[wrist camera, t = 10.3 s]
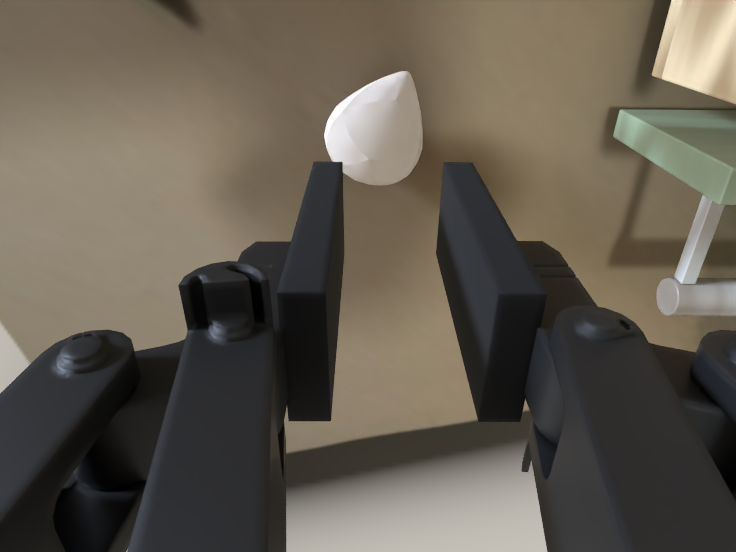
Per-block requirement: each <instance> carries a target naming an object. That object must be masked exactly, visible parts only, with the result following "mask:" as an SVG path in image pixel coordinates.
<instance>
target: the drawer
mask: <svg viewBox="0 0 736 552" xmlns="http://www.w3.org/2000/svg"><path fill="white" fill-rule="evenodd" d="M652 76H654V77H657V78H659V79H663V80H666V81H668V82H671V83H674V84H677V85H680V86H683V87H686V88H689V89H692V90H695V91H698V92H700V93H703V94H706V95H709V96H712V97H715V98H718V99H721V100H724V101H727V102H729V103H732V104H735V105H736V0H672V1H671V4H670V8H669V12H668V16H667V19H666V23H665V27H664V31H663V34H662V38H661V42H660V46H659V49H658V53H657V57H656V61H655V64H654V68H653V72H652ZM613 137H614V138H616V139H617V140H619V141H620V142H622V143H624V144H625V145H627V146H628V147H630V148H631V149H633V150H634V151H636V152H637V153H639V154H641V155H642V156H644V157H645V158H647V159H648V160H650V161H651V162H653V163H655V164H656V165H658V166H659V167H661V168H662V169H664V170H665V171H667V172H668V173H670V174H672V175H673V176H675V177H676V178H678V179H679V180H681V181H682V182H684V183H686V184H687V185H689V186H690V187H692V188H693V189H695V190H696V191H698V192H699V193H701V194H703V196H702V199H701V202H700V205H699V207H698V210H697V213H696V216H695V219H694V222H693V224H692V227H691V230H690V233H689V236H688V239H687V241H686V244H685V247H684V250H683V253H682V256H681V258H680V261H679V264H678V267H677V270H676V273H675V275H674V277H675V278H665V279H663V280H662V281H661V282H660V284H659V286H658V289H657V295H656V297H657V304H658V307H659V309H660V311H661V312H662V313H663V314H664V315H666V316H736V278H698V275H699V273H700V270H701V267H702V265H703V262H704V259H705V257H706V254H707V252H708V249H709V246H710V244H711V241H712V238H713V236H714V233H715V231H716V228H717V225H718V223H719V220H720V217H721V215H722V212H723V209H724V207H725V205H736V110H624V109H621V110H620V111H619V115H618V119H617V123H616V127H615V131H614V135H613Z"/></svg>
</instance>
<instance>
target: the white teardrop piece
mask: <svg viewBox="0 0 736 552" xmlns="http://www.w3.org/2000/svg"><path fill="white" fill-rule="evenodd" d="M324 138H325V142H326V147H327V151H328V153H329V155H330V157H331V159H332V161H333V162H343V173H345V174H346V175H348V176H349V177H351V178H352V179H354V180H355V181H359V182H362V183H366V184H369V185H388V184H393V183H397V182H398V181H400V180H402V179H403V178H405V177H407V176H408V175H409V174H410V172H411V171H412V170H413V168H414V167H415V166H416V164H417V162H418V160H419V157H420V154H421V151H422V143H423V130H422V119H421V111H420V106H419V101H418V97H417V93H416V89H415V85H414V82H413V79H412V76H411V75H410V73H409V72H408V71H400V72H397V73H394V74H391V75H388V76H386V77H383V78H381V79H378V80H376V81H374V82H372V83H370V84H368V85H366V86H364V87H362V88H361V89H359V90H357V91H356V92H354V93H352V94H351V95H349V96H348V97H347V98H345V99H344V100H343V101H341V102H340V103H339V104H337V105H336V107H335V108H334V110H333V112H332V113H331V115H330V116H329V118H328V122H327V125H326V129H325V133H324Z"/></svg>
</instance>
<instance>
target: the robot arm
mask: <svg viewBox="0 0 736 552" xmlns="http://www.w3.org/2000/svg"><path fill="white" fill-rule="evenodd" d="M436 255H437V259H438V263H439V267H440V271H441V275H442V279H443V283H444V287H445V291H446V295H447V299H448V302H449V306H450V310H451V314H452V318H453V322H454V326H455V330H456V334H457V338H458V342H459V346H460V350H461V354H462V358H463V362H464V366H465V370H466V374H467V378H468V382H469V386H470V390H471V394H472V398H473V402H474V406H475V410H476V414H477V418H478V421H479V422H520V420H521V416H522V411H523V406H524V402H525V398H526V401H527V404H528V406H529V409H530V412H531V414H532V417H533V418H532V422H531V427H530V431H529V436H528V440H527V444H526V449H525V453H524V457H523V462H522V471H523V472H528V470H529V466H530V462H531V460H532V465H533V470H534V476H535V482H536V488H537V493H538V499H539V505H540V511H541V516H542V522H543V528H544V534H545V540H546V545H547V551H548V552H736V331H730V330H719V331H714V332H710V333H708V334H707V335H706V336H704V337H703V338H702V339H701V342H700V344H699V347H698V349H697V352H696V353H695V352H690V351H685V350H680V349H675V348H669V347H664V346H659V345H655V344H651V343H648V341H647V339H646V337H645V335H644V333H643V332H642V330H641V329H640V328H639V327H638V326H637V325H636V324H635V323H634V322H633V321H632V320H630V319H628V318H627V317H625V316H623V315H622V314H620V313H617V312H614V311H612V310H609V309H606V308H601V307H597V305H596V304H595V302H594V301H593V299H592V298H591V297H590V295H589V294H588V292H587V291H586V289H585V288H584V287H583V285H582V284H581V282H580V281H579V279H578V278H576V277H575V276H576V275H575V274H574V272H573V271H572V269H571V268H570V267H568V264H567V262H566V261H565V260H564V258H563V257H562V255H561V254H560V252H558V251H557V250H555V249H554V248H552V247H550V246H549V245H547V244H546V243H544V242H543V241H517V240H516V238H515V237H514V235H513V233H512V231H511V230H510V228H509V226H508V224H507V223H506V221H505V219H504V217H503V216H502V214H501V212H500V210H499V209H498V207H497V205H496V203H495V202H494V200H493V198H492V196H491V195H490V193H489V191H488V189H487V188H486V186H485V184H484V182H483V181H482V179H481V177H480V175H479V174H478V172H477V170H476V168H475V166H474V165H473V163H460V162H444V165H443V177H442V189H441V201H440V214H439V226H438V238H437V250H436ZM343 263H344V212H343V162H314V163H313V167H312V170H311V174H310V177H309V181H308V184H307V188H306V191H305V195H304V198H303V202H302V205H301V209H300V212H299V216H298V219H297V223H296V226H295V230H294V233H293V237H292V240H291V242H255V243H254V244H252V245H251V246H250V247H248V248H247V249H246V250H244V251H243V252H242V253H241V255H240V257H239V260H238V262H235V261H227V262H220V263H213V264H210V265H207V266H204V267H201V268H198V269H196V270H194V271H193V272H191V273H189V274H188V275H186V276H185V277H184V278H183V280H182V281H181V282H180V284H179V290H180V295H181V300H182V304H183V309H184V314H185V319H186V324H187V329H188V332H187V336H186V339H184V340H182V341H180V342H177V343H173V344H169V345H166V346H161V347H156V348H151V349H146V350H140V351H134V348H133V344H132V341H131V339H130V338H129V337H127V336H126V335H125V334H123V333H121V332H116V331H112V330H96V331H87V332H84V333H79V334H75V335H72V336H70V337H68V338H66V339H64V340H62V341H59V342H57V343H55V344H54V345H52V346H51V347H50V348H48V349H47V350H46V351H44V352H43V353H42V354H41V355H40V356H39V357H38V358H36V359H35V360H34V361H33V362H32V363H31V364H30V365H29V366H28V367H27V368H26V369H25V370H24V371H23V372H22V373H21V374H20V375H19V376H18V377H17V378H16V379H15V380H14V381H13V382H12V383H11V384H10V385H9V386H8V387H7V388H6V389H5V390H4V391H3V392H1V394H0V552H126V551H127V549H128V552H286V437H285V428H284V418H285V412H286V407H288V418H289V421H331V411H332V399H333V387H334V374H335V362H336V349H337V337H338V325H339V312H340V300H341V288H342V275H343ZM128 547H129V548H128Z"/></svg>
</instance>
